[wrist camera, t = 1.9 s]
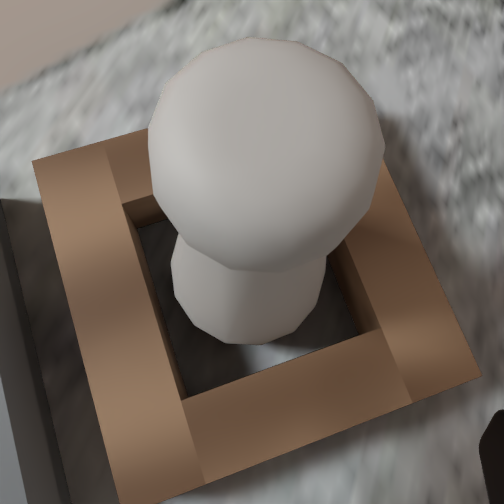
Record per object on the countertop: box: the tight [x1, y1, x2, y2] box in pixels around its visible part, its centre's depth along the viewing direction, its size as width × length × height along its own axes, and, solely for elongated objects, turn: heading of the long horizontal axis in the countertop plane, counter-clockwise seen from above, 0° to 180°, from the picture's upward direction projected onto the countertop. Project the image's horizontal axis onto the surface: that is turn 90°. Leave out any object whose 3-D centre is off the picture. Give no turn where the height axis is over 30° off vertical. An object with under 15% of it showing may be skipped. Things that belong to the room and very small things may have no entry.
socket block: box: [32, 128, 482, 504], centre depth 19 cm, size 13×13×3 cm
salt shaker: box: [148, 37, 386, 345], centre depth 14 cm, size 6×6×13 cm
